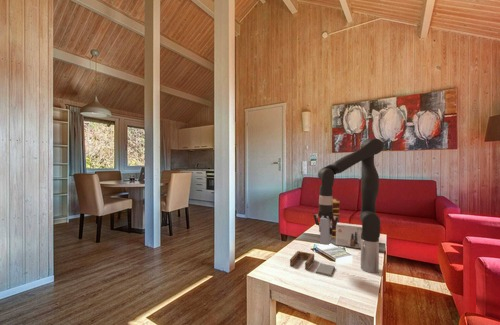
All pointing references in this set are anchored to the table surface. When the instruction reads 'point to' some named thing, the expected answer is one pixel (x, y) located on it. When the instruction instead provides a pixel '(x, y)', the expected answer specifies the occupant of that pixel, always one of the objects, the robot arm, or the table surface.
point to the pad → (325, 269)
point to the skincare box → (348, 235)
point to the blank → (325, 231)
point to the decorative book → (336, 213)
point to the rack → (302, 255)
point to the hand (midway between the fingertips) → (325, 233)
